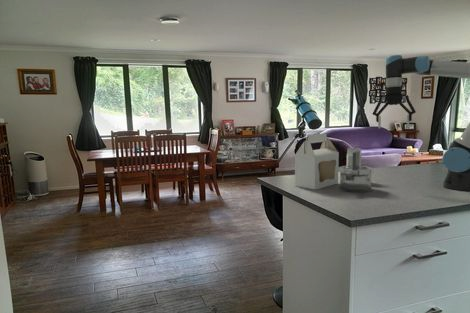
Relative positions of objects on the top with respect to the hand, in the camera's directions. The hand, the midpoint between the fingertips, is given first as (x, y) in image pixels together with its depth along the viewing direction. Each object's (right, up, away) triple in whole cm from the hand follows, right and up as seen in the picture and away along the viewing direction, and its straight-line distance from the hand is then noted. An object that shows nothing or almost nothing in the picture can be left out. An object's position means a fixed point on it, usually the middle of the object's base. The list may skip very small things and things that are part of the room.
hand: (393, 128), depth 178 cm
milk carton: (-15, -29, +17) cm, 37 cm away
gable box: (-37, -31, +11) cm, 50 cm away
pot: (-22, -32, -4) cm, 39 cm away
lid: (-21, -23, -3) cm, 31 cm away
